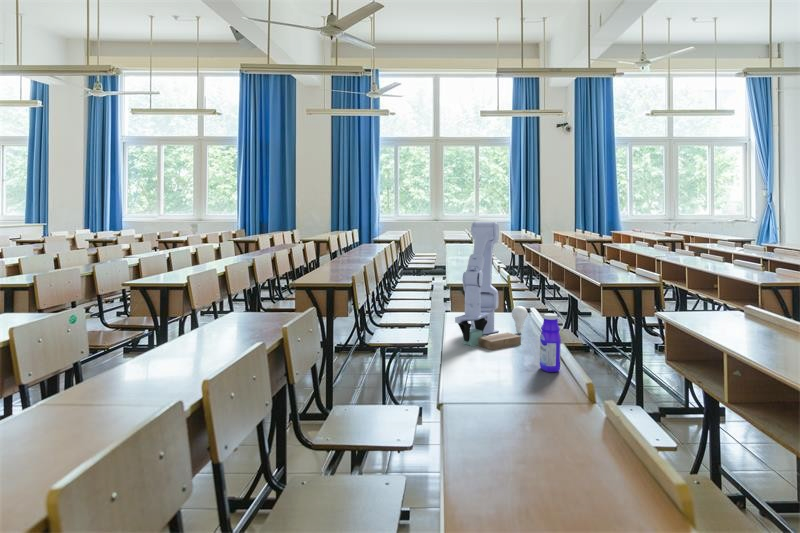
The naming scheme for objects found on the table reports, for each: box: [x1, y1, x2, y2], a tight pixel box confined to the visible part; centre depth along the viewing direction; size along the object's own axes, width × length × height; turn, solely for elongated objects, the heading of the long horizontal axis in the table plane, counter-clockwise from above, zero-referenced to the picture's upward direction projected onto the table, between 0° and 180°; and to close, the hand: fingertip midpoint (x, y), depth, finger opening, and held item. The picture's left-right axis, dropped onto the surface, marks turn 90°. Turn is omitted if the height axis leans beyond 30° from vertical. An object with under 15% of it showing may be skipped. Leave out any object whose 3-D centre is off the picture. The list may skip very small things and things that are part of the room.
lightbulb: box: [511, 305, 529, 334], centre depth 217 cm, size 6×6×11 cm
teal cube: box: [462, 328, 483, 347], centre depth 203 cm, size 5×5×5 cm
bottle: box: [539, 312, 562, 373], centre depth 170 cm, size 7×6×17 cm
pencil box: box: [478, 332, 522, 351], centre depth 201 cm, size 7×14×3 cm, turn 121°
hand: (472, 339), depth 203 cm, fingers closed on teal cube, 5 cm apart
